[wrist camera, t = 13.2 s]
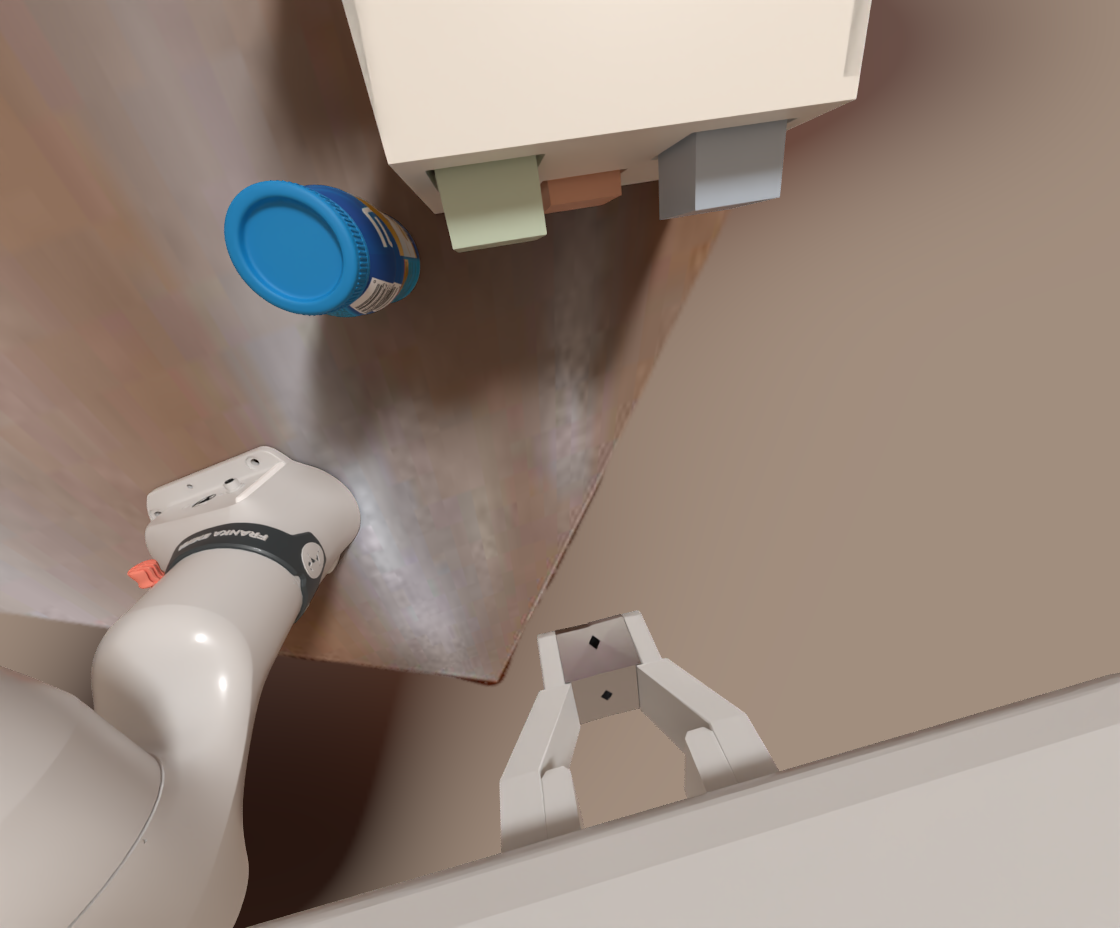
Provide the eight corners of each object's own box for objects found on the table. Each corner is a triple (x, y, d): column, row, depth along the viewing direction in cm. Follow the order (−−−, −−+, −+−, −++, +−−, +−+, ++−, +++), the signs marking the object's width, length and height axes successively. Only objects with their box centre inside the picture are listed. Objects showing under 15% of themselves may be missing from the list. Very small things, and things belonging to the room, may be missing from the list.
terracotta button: (541, 214, 37) (551, 205, 32) (530, 134, 35) (538, 110, 29) (602, 205, 38) (621, 194, 33) (596, 125, 35) (616, 100, 30)
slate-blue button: (659, 220, 31) (695, 210, 26) (657, 123, 28) (696, 91, 23) (730, 208, 32) (779, 197, 26) (735, 113, 29) (791, 78, 24)
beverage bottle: (344, 305, 41) (235, 334, 23) (321, 208, 37) (170, 154, 19) (428, 303, 42) (387, 329, 24) (414, 209, 38) (354, 159, 20)
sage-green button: (458, 252, 30) (453, 249, 25) (435, 154, 27) (423, 127, 22) (536, 240, 30) (546, 234, 25) (521, 142, 28) (530, 113, 22)
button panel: (434, 214, 38) (388, 164, 20) (398, 70, 34) (293, -172, 15) (687, 175, 41) (856, 98, 22) (687, 35, 36) (904, -214, 17)
